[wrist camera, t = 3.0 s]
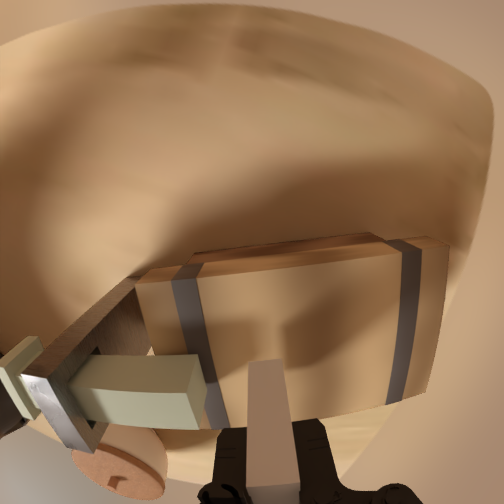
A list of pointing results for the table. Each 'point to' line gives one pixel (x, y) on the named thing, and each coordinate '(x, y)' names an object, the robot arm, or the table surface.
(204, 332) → the lid
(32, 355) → the bolt
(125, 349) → the keeper
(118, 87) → the table surface
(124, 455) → the lidded jar
